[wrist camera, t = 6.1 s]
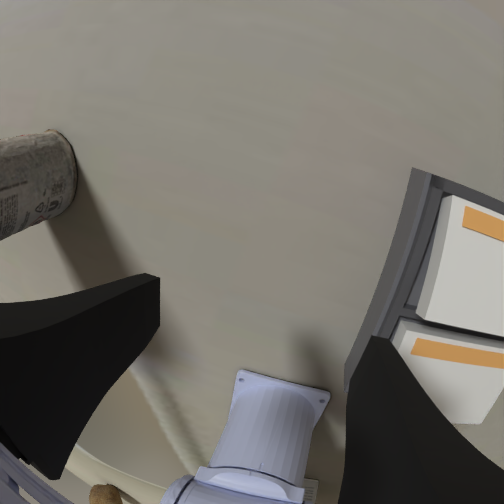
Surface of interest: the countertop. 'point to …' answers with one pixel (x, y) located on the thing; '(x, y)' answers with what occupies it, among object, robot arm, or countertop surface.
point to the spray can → (34, 180)
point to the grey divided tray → (412, 263)
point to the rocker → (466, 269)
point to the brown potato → (104, 495)
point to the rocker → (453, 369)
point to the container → (310, 489)
